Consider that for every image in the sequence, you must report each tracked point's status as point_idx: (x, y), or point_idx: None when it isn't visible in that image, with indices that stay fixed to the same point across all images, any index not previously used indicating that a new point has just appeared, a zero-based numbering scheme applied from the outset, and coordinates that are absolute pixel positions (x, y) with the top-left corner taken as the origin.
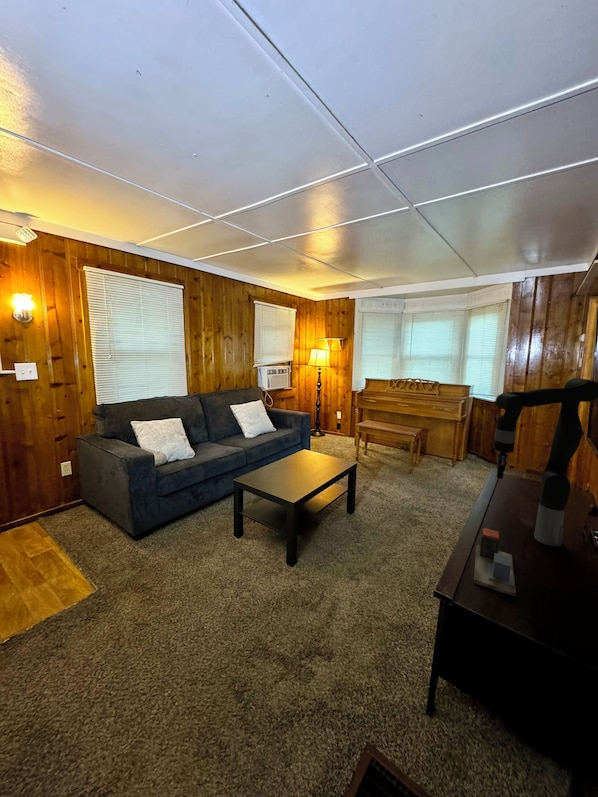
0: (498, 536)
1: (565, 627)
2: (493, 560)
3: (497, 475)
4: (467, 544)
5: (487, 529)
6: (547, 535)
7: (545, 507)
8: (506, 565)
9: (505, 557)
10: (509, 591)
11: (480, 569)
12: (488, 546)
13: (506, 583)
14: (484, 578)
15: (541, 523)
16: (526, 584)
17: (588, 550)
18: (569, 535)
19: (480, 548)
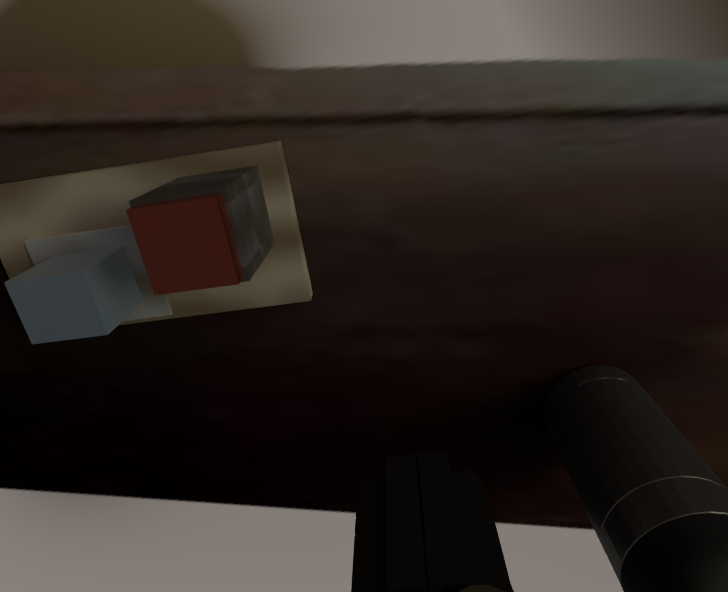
0: (176, 291)
1: (36, 446)
2: (105, 256)
3: (388, 488)
4: (285, 92)
5: (214, 224)
6: (557, 437)
7: (636, 539)
8: (26, 328)
9: (87, 319)
10: None
11: (65, 201)
12: None
13: None
14: (16, 226)
15: (593, 446)
16: (162, 353)
17: None
18: None
19: (162, 185)
